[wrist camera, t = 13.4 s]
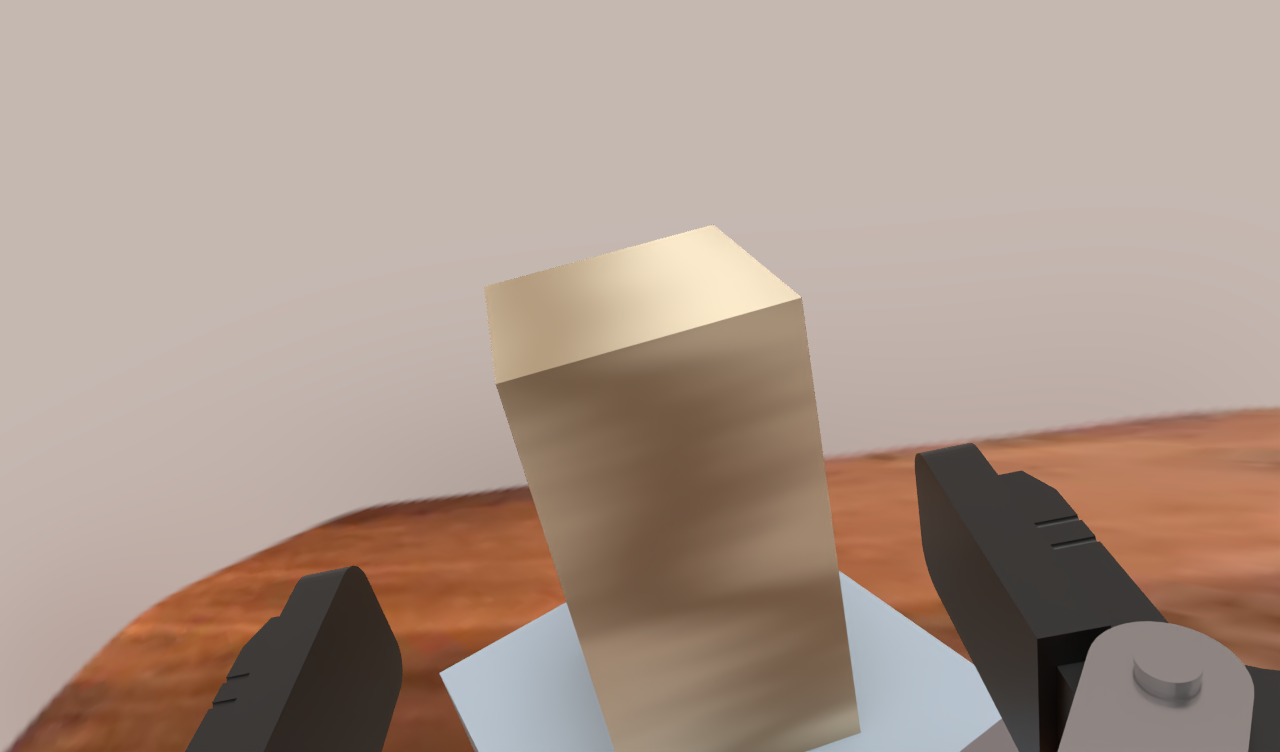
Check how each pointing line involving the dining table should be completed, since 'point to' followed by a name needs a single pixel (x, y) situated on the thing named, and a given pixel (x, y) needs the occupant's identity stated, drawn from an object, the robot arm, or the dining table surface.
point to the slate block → (886, 748)
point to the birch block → (682, 492)
